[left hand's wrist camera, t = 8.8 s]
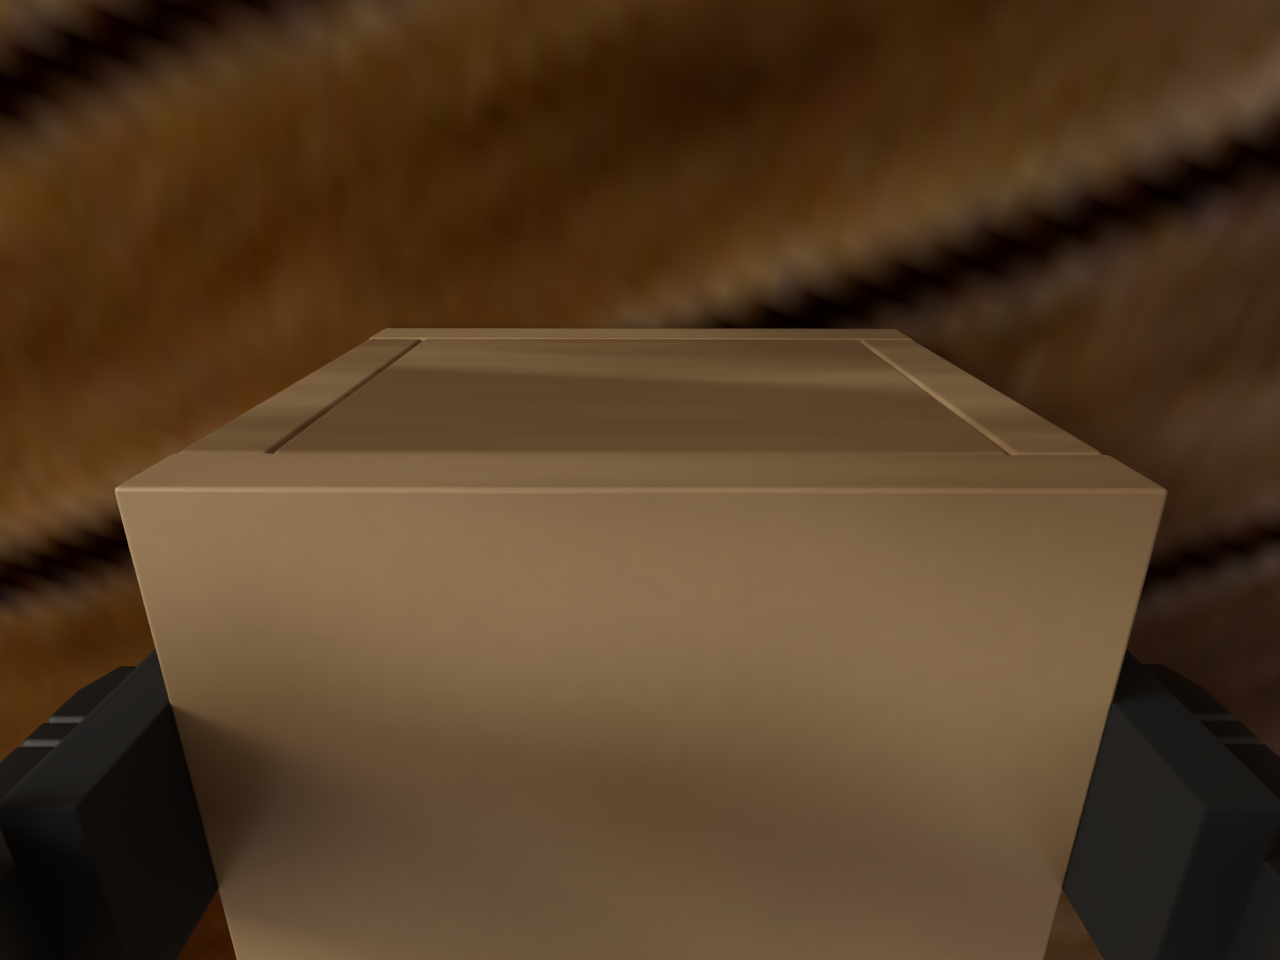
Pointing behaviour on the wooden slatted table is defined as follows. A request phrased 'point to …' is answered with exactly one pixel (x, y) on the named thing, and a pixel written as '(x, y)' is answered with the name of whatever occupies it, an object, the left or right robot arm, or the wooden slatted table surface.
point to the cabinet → (640, 648)
